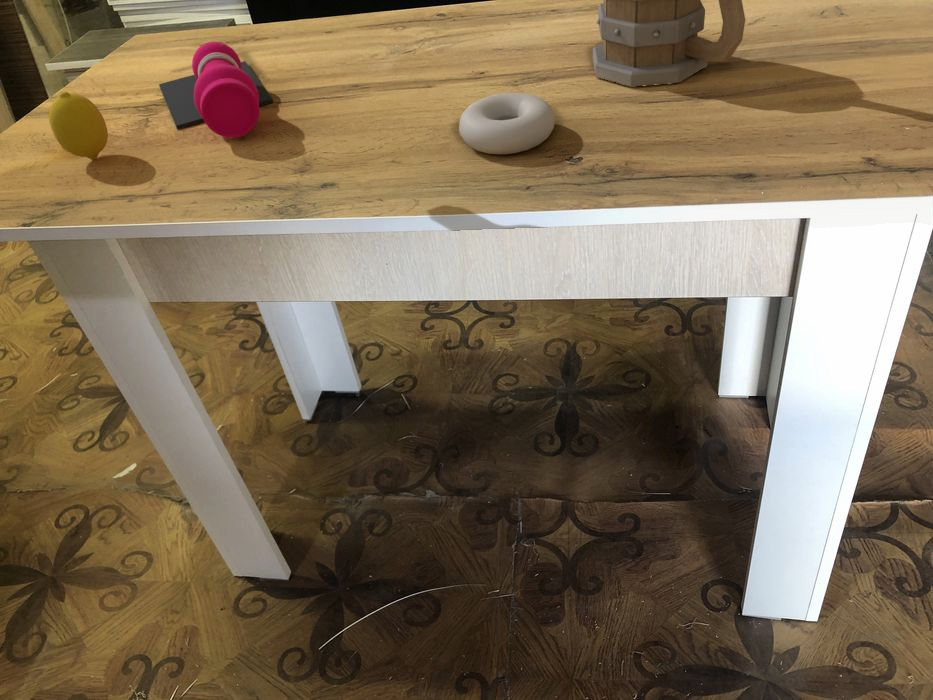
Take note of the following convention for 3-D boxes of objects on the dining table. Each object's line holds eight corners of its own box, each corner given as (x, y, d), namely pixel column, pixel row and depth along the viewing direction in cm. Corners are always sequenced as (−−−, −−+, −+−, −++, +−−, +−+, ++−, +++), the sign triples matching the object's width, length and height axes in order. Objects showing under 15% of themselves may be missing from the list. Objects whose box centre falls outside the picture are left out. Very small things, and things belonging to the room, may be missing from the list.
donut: (443, 154, 80) (530, 166, 76) (438, 123, 78) (527, 133, 74) (488, 113, 87) (571, 122, 82) (485, 83, 84) (569, 90, 80)
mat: (177, 129, 93) (175, 125, 93) (160, 87, 105) (158, 84, 104) (273, 102, 96) (272, 98, 96) (246, 64, 107) (245, 60, 107)
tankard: (571, 71, 92) (568, -67, 83) (639, 37, 98) (644, -96, 88) (715, 112, 80) (730, -44, 70) (783, 71, 86) (806, -80, 76)
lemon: (122, 144, 92) (93, 78, 86) (114, 165, 87) (83, 97, 82) (75, 152, 91) (43, 87, 86) (64, 174, 87) (30, 106, 82)
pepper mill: (195, 139, 87) (184, 81, 101) (261, 144, 89) (241, 87, 104) (197, 74, 83) (185, 24, 97) (266, 82, 85) (244, 32, 100)
